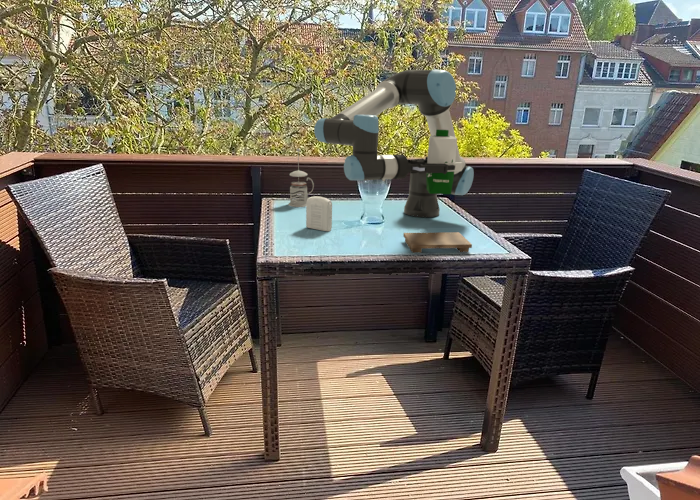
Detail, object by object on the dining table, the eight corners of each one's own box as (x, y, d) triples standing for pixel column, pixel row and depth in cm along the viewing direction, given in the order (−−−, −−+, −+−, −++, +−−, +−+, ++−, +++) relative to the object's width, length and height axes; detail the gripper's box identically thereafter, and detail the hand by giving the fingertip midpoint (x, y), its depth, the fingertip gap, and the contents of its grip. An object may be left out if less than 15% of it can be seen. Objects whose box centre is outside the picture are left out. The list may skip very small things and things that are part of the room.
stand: (458, 240, 176) (458, 232, 175) (471, 253, 163) (471, 244, 162) (403, 240, 174) (403, 232, 173) (411, 253, 161) (412, 245, 160)
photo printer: (333, 229, 186) (334, 197, 182) (327, 232, 182) (328, 199, 178) (310, 225, 191) (310, 194, 187) (304, 228, 187) (304, 196, 183)
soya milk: (449, 189, 169) (454, 129, 163) (454, 195, 160) (460, 131, 154) (423, 189, 169) (428, 129, 162) (427, 194, 160) (432, 131, 154)
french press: (289, 201, 228) (288, 146, 220) (314, 202, 228) (314, 147, 220) (286, 206, 219) (285, 149, 211) (312, 207, 219) (312, 150, 211)
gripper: (377, 173, 164) (435, 171, 173) (408, 184, 146) (471, 181, 155) (378, 150, 162) (437, 149, 171) (410, 159, 144) (474, 157, 153)
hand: (453, 164), depth 163 cm, fingers closed on soya milk, 8 cm apart
